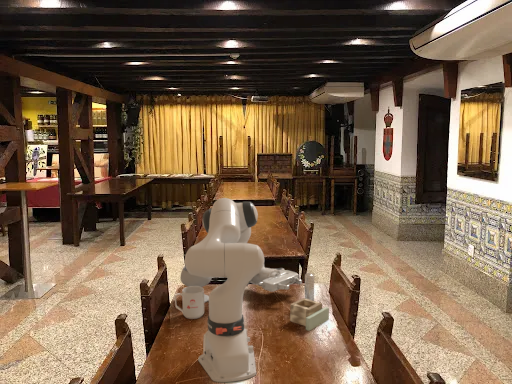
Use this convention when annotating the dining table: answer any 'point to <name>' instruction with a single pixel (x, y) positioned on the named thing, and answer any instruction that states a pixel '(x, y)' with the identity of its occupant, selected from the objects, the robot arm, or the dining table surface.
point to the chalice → (194, 281)
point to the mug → (192, 302)
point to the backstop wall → (317, 318)
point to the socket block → (303, 310)
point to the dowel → (309, 286)
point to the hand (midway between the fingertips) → (294, 284)
